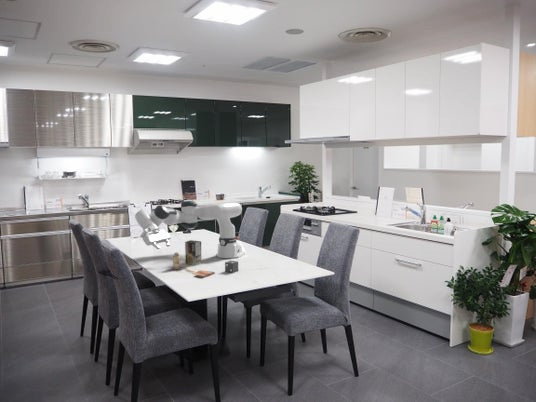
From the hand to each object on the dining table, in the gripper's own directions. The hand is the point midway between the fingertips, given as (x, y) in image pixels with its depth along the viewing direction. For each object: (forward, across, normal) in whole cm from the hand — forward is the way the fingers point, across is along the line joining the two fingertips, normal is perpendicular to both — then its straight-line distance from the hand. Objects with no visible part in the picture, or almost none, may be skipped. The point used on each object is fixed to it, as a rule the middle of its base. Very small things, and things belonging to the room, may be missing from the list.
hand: (163, 247), depth 290 cm
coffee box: (+17, -17, -3) cm, 25 cm away
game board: (+24, 0, +4) cm, 24 cm away
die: (+39, -16, +19) cm, 46 cm away
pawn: (+16, 0, -2) cm, 16 cm away
